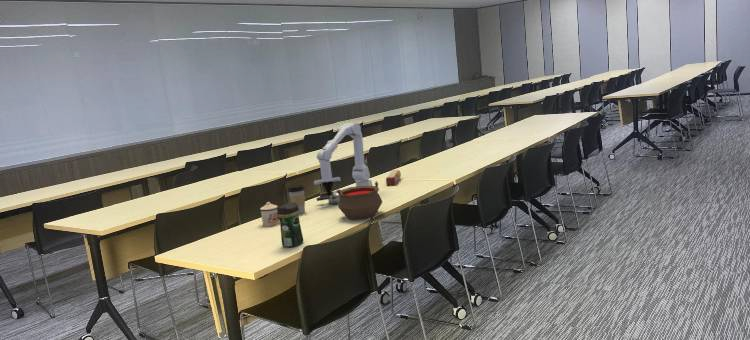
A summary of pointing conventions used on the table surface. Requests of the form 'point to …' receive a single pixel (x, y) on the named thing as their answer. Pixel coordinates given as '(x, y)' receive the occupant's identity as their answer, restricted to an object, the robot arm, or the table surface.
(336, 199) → the pot
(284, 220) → the coffee jar
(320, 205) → the table surface
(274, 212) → the teacup with lid
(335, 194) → the lid
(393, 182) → the snack package
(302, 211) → the coffee cup
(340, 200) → the brown cauldron
